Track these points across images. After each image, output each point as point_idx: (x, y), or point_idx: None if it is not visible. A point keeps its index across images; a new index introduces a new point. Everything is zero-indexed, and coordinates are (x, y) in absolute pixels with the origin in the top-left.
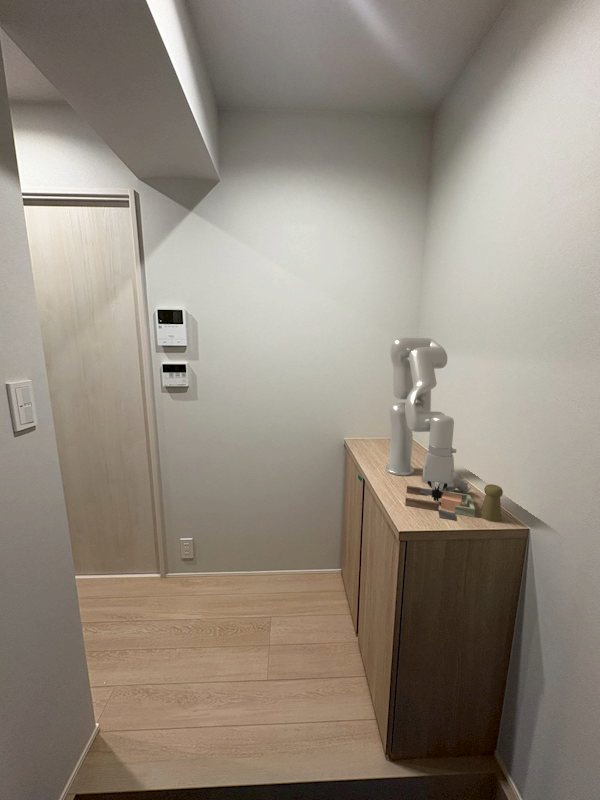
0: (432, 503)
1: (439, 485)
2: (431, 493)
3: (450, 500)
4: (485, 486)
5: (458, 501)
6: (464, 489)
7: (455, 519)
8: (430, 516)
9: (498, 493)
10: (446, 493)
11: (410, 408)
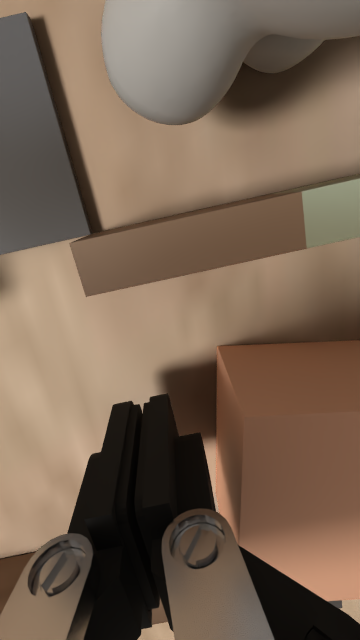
0: (153, 620)
1: (184, 602)
2: (44, 200)
3: (338, 596)
4: None
5: None
6: None
7: (337, 606)
8: (167, 631)
9: None
10: (287, 453)
11: None
